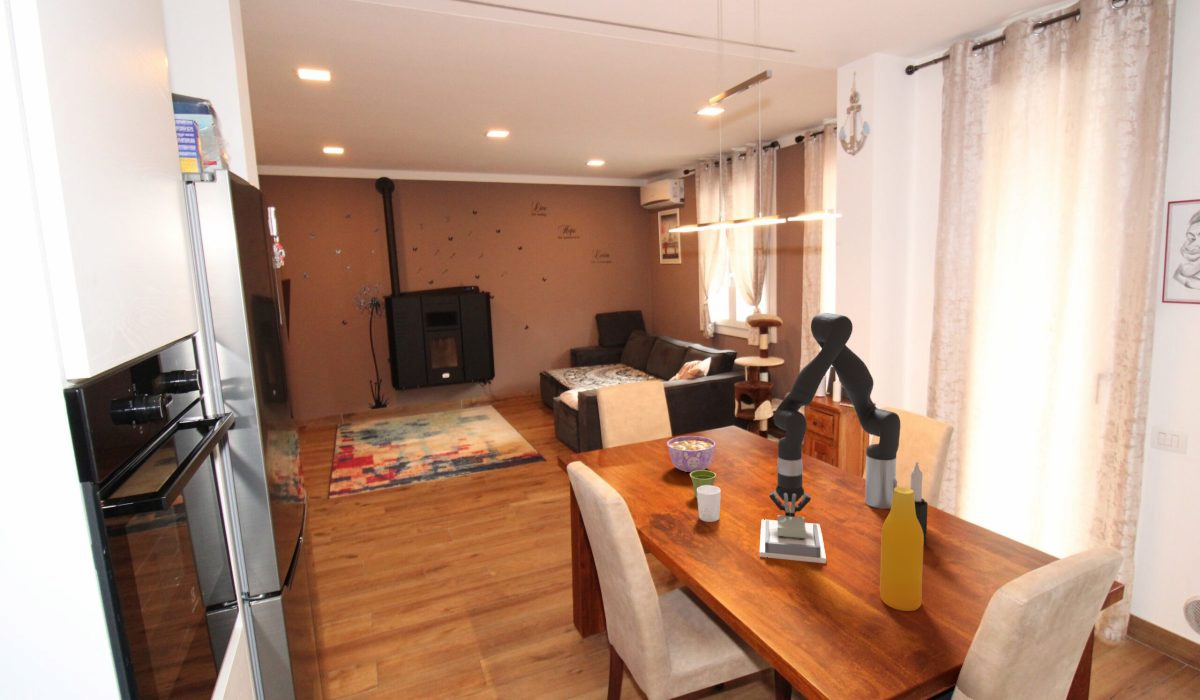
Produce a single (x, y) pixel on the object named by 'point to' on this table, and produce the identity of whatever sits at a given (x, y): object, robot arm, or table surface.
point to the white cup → (708, 502)
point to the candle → (919, 499)
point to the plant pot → (702, 479)
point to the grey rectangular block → (791, 527)
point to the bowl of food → (691, 452)
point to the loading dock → (792, 543)
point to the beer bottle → (902, 554)
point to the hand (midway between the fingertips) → (789, 522)
